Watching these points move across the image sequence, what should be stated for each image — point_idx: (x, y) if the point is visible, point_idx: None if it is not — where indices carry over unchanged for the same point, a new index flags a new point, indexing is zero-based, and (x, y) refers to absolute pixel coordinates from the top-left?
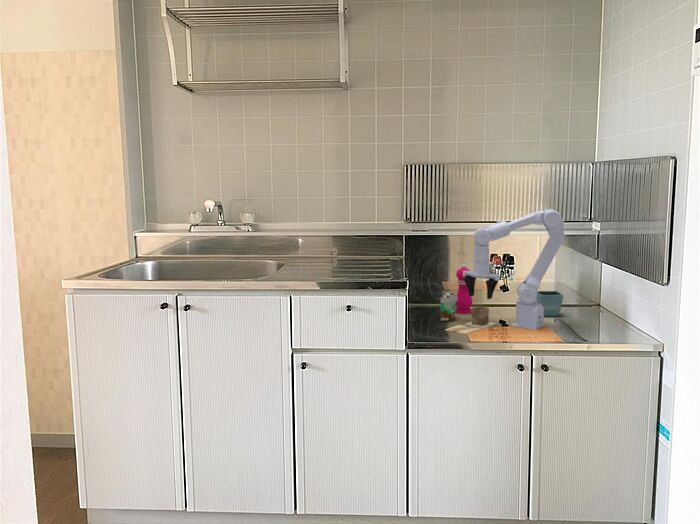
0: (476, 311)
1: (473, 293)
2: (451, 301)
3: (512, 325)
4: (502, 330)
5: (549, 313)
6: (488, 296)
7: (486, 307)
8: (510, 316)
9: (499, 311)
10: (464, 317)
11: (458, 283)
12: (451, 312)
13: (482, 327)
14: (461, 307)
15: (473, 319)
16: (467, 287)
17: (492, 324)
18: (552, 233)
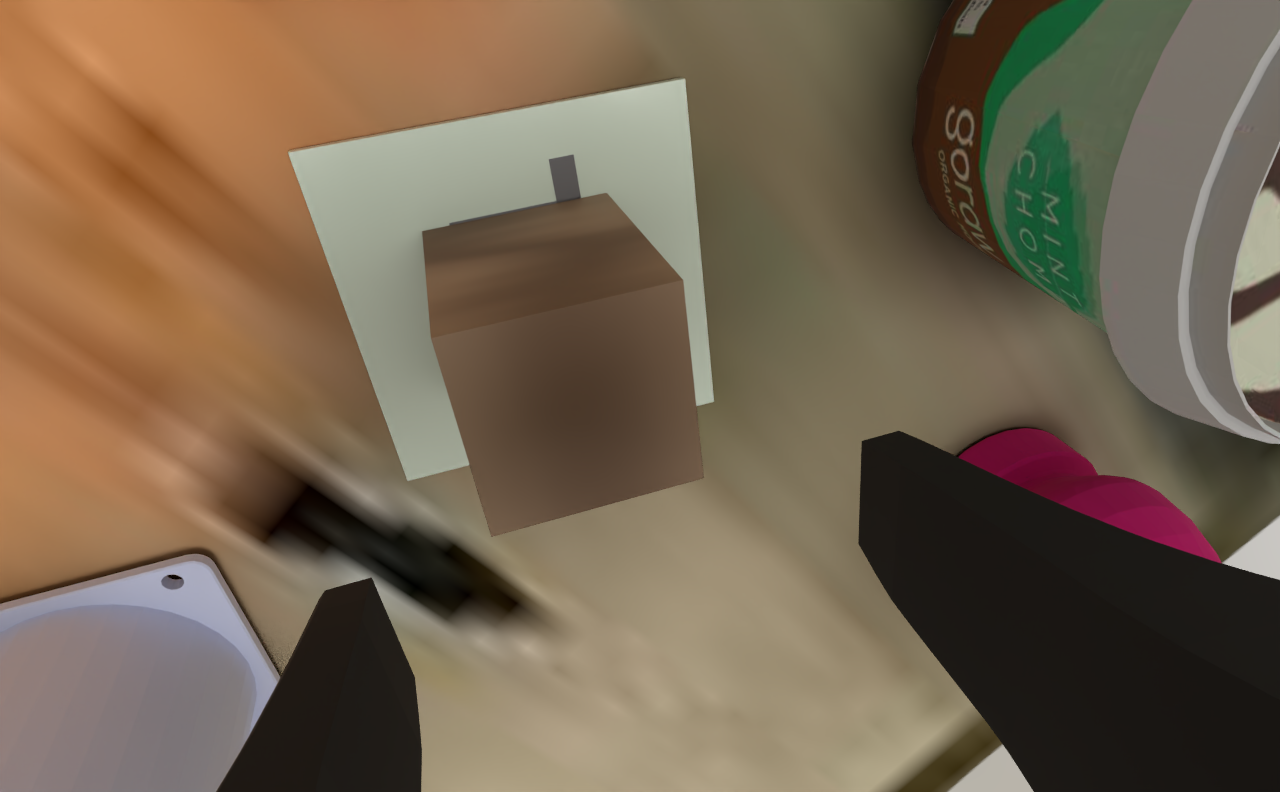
0: (566, 284)
1: (889, 567)
2: (1162, 85)
3: (178, 558)
4: (29, 298)
5: None
6: (314, 635)
7: (539, 523)
8: (563, 752)
9: (755, 764)
10: (887, 382)
11: None
12: (1001, 105)
13: (335, 154)
14: (1034, 491)
15: (592, 219)
16: (1130, 533)
17: (391, 398)
18: None
